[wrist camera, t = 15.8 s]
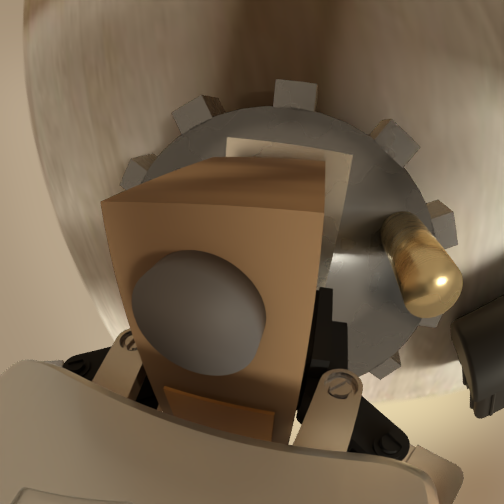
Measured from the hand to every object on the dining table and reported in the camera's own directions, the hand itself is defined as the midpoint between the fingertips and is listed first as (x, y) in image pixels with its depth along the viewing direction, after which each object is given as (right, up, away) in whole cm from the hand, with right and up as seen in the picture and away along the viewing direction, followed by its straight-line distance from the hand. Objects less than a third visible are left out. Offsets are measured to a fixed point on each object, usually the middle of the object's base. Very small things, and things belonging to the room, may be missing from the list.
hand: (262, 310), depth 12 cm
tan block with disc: (0, 0, +1) cm, 1 cm away
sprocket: (+1, +2, +4) cm, 4 cm away
